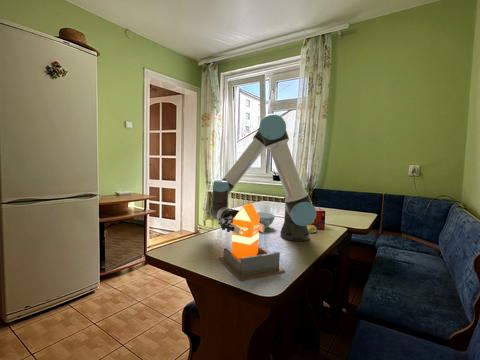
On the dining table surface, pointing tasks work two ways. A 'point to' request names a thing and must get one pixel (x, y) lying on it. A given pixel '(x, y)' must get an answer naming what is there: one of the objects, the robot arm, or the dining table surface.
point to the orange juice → (246, 232)
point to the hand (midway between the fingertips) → (251, 230)
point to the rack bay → (252, 264)
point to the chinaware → (266, 218)
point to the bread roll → (311, 228)
